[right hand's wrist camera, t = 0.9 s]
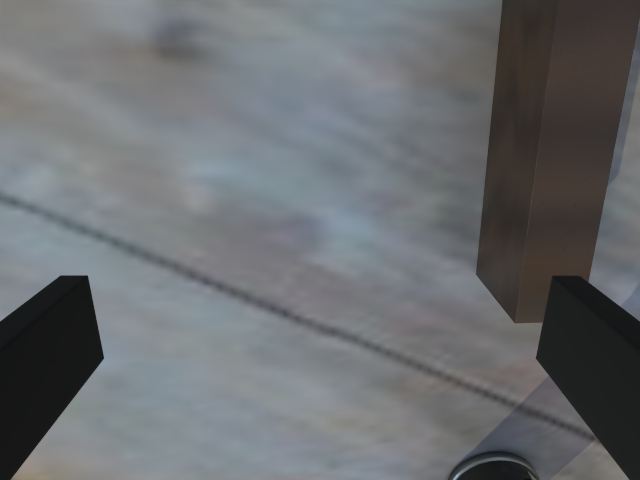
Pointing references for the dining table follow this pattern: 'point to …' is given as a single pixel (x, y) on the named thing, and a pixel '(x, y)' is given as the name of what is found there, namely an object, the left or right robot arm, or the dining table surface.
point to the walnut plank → (551, 143)
